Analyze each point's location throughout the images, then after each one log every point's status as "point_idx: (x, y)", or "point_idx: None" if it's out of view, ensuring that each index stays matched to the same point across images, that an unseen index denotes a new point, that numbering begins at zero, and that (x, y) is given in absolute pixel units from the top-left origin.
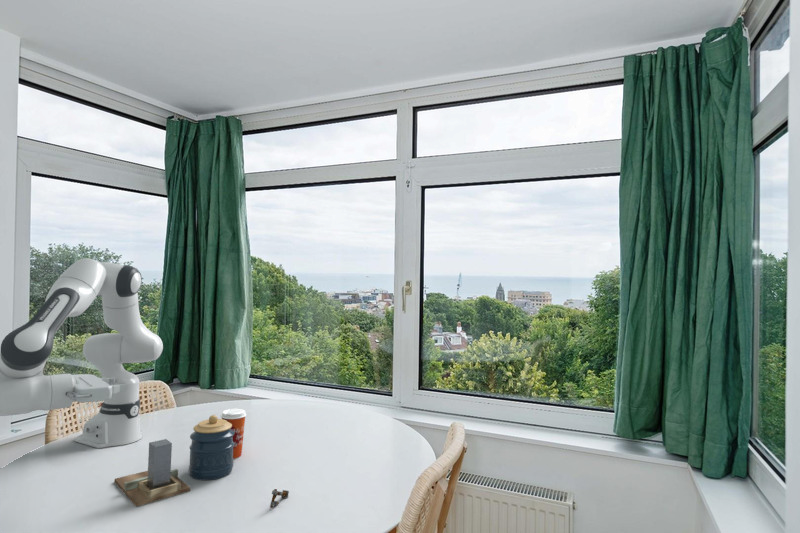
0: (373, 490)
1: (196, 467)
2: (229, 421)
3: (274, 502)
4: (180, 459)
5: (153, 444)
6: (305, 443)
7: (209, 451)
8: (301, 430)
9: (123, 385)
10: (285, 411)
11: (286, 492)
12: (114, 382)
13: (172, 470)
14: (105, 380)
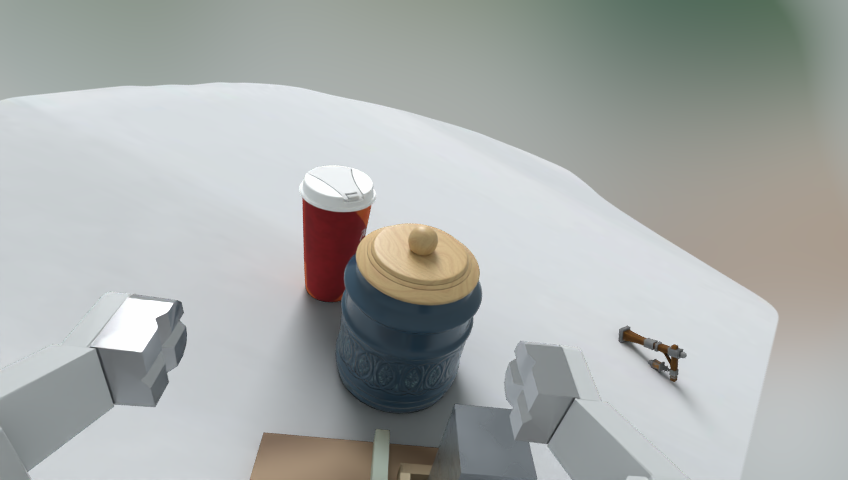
0: (649, 255)
1: (427, 388)
2: (358, 215)
3: (667, 367)
4: (226, 370)
5: (500, 469)
6: (387, 194)
7: (467, 335)
8: (316, 164)
9: (586, 377)
10: (181, 120)
11: (631, 331)
12: (172, 349)
13: (379, 443)
14: (44, 403)
